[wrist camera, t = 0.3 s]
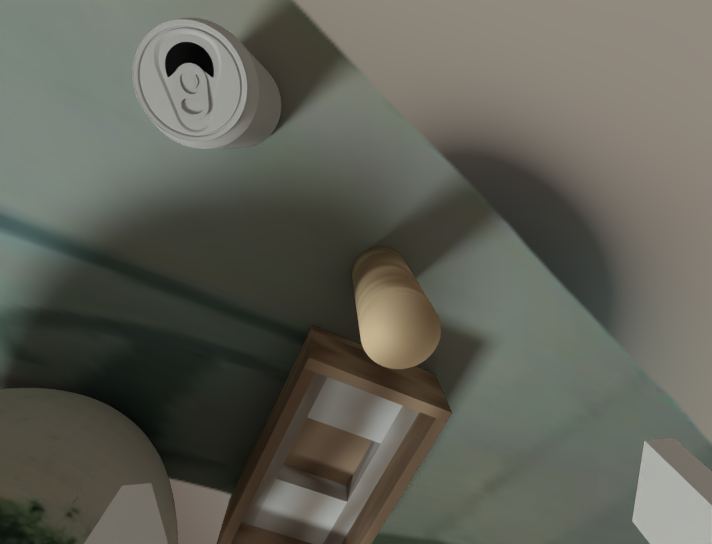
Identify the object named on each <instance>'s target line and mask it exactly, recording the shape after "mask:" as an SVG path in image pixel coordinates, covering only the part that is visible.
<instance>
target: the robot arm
mask: <svg viewBox="0 0 712 544" xmlns="http://www.w3.org/2000/svg"><path fill="white" fill-rule="evenodd" d="M632 521H633V523H634V524H635V525H636V526H637V528H638V529H639V530H640V532H641V533H642V534H643V535H644V537H645V538H646V539H647V541H648V542H649V543H650V544H712V472H711V471H710V470H709V469H708V468H707V467H706V466H705V465H703V464H702V463H701V462H700V461H699V460H698V459H697V458H695V457H694V456H693V455H692V454H691V453H690V452H689V451H687V450H686V449H685V448H684V447H683V446H682V445H681V444H679V443H678V442H677V441H676V440H675V439H674V438H667V439H656V440H645V441H644V448H643V454H642V461H641V467H640V474H639V481H638V487H637V494H636V500H635V507H634V513H633V520H632ZM84 544H168V542H167V538H166V535H165V531H164V527H163V524H162V520H161V517H160V513H159V509H158V506H157V502H156V499H155V495H154V491H153V488H152V484H151V483H146V484H135V485H123V486H122V487H121V488H120V490H119V491H118V493H117V494H116V496H115V497H114V499H113V500H112V502H111V503H110V505H109V506H108V508H107V509H106V511H105V512H104V514H103V516H102V517H101V519H100V520H99V522H98V523H97V525H96V526H95V528H94V529H93V531H92V532H91V534H90V535H89V537H88V538H87V540H86V541H85V543H84Z"/></svg>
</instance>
